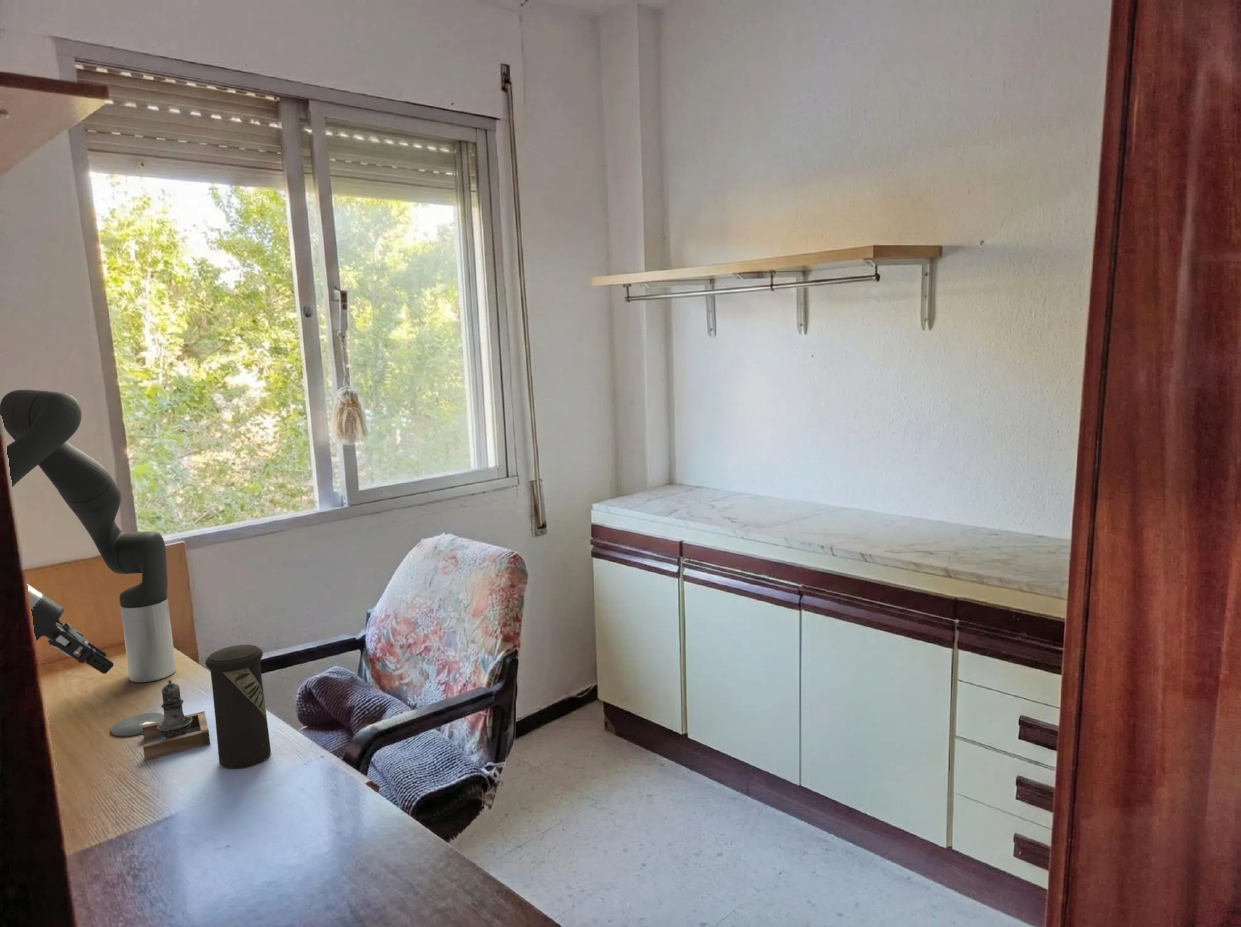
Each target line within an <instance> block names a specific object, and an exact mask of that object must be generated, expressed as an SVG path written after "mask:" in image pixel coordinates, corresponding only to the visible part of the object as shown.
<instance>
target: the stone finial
mask: <svg viewBox="0 0 1241 927" xmlns="http://www.w3.org/2000/svg"><path fill="white" fill-rule="evenodd" d="M172 682H173V681H172V680H171V679H169V680H168V682H167V685H165V686H163V687H162V689H161V695H162V696H161V697H162V704H161V705H160V706H161V708H162V709H163V715H164V721H162V722H161V723H159V724H158V725H157V727H156V728H157V730H159V733H160V734H161V737H162V738H164V739H168V738H173V737H177V736H181V735H185V734H188V732H190V730H191V729H190V727H191V722H192V720H193V719H192V718H191V717H189V716H185V714H184V711H183V704H184V700H183V699H181V696H182V695H181V689H180V685H178V684H177V683H172Z"/></svg>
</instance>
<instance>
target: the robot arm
mask: <svg viewBox="0 0 1241 927" xmlns="http://www.w3.org/2000/svg"><path fill="white" fill-rule="evenodd" d="M0 415H1V416H2V419H3V423H4V426H3V427H4V430H6V432H7V434H8V435H9V436H10V437H11V438H12V440H14V441H12V442H11V443H9V444H8V445H7V455H8V458H9V467H10V476H11V480H12V488H13V487H15V486H16V484H17V483H19V481H21V480H22V479H23V478H24V477H25V476H27V474H29V473H30V472H31V471H32V470H33V469H35V468H36V467H37V466H38V467H39V468H40V469H41V470H42V472H43V474H44V475H45V476H46V477H47V479H48V480H49V481H50V482H51V483H52V485H53V486H54V487H55V489H56V490H57V491H58V493H59V494H60V497H61V498H62V499H63V500H64V502H65V503H66V504H67V506H68V507H69V509H70V510H71V511H72V512H73V513H74V515H75V516H76V517H77V519H78V520H79V521H80V523H81V524H82V526H83V527H84V528H85V530H86V531H87V533H88V534H89V536H90V538H91V539H92V541H93V543H94V545H95V547H96V549H97V551H98V553H99V554H100V556H101V558H102V560H103V561H104V564H105V565H106V566H107V568H109V569H110V571H112V572H113V573H115V574H120V575H129V574H130V575H131V574H133V575H134V574H141V582H140V583H139V584H137V585H134V586H132V587H129V588H126V589H125V590H123V591H121V593H120V594H119V598H118V599H119V605H120V606H119V607H120V615H121V621H122V629H123V638H124V647H125V653H126V661H127V664H126V665H127V669H128V670H127V671H128V679H129V681H131V682H132V683H147V682H153V681H159V680H161V679H164V678H167V677H169V676H171V675H173V674H174V673H175V672H176V671H177V669H176V658H175V650H174V649H175V648H174V641H173V640H174V639H173V632H172V625H171V615H170V606H169V600H168V598H169V597H168V586H169V581H168V580H169V578H168V570H167V569H168V568H167V566H168V564H167V563H168V562H167V549H166V544H165V541H164V538H163V536H162V534H161V533H159V532H157V531H150V530H149V531H135V532H134V531H133V532H125V531H123V530H121V529H120V528H119V527H118V525H117V523H116V521H115V519H116V516H117V514H118V512H119V509H120V507H121V502H122V495H121V494H122V493H121V490H120V488H119V486H118V485H117V483H116V482H115V480H114V478H113V477H112V476H111V474H110V472H109V471H108V470H107V469H106V467H104V466H103V464H101V463H100V462H98V461H97V460H96V459H95V458H93V457H92V456H91V455H88V454H87V453H85V452H83V451H82V450H80V449H78V448H77V447H75V446H74V445H72V444H71V443H70V442H68V440H70V439H71V437H73V435H74V434H75V433H76V432H77V430H78V429H79V427H80V425H81V422H82V408H81V406H80V403H79V402H78V400H77V399H76V398H75V397H74V396H72V395H70V394H69V393H65V392H60V391H52V390H51V391H50V390H40V389H39V390H38V389H16V390H12V391H10V392H8V393H6V394H5V395H4V396H3V397H2V399H1V400H0ZM3 423H2V424H3ZM27 585H28V592H29V596H30V604H31V611H32V616H33V625H34V633H35V636H36V641H35V642H37V641H38V640H39V639H40V638H42V637H46V638H48V640H47V641H46V642H47V643H48V645H49V646H50V647H52V648H53V649H55V650H58V651H60V652H62V653H63V654H64V655H66V656H67V657H69V658H73V659H74V660H76V661H77V662H78V663H80V664H86V665H89V667H92V668H93V669H95V670H96V671H98V672H99V673H101V674H103V675H105V674H108V672H110V670H111V669H112V668H113V667H114V662H113V661H111V660H110V659H108V658H107V657H106V656H107V653H106V652H105V651H103V650H102V649H100V648H98V647H97V646H96V645H94V644H93V643H91V642H90V641H89V640H88V638H86V637H84V634H83V633H82V632H80V631H79V630H77V629H75V627H74V626H72V625H71V624H69V623H68V622H65V623H63V622H62V621H61V620H60V618H61V617H62V615H63V614H64V612H65V611H64V607H63V606H62V605H61V604H59V603H58V602H56V601H55V600H53V599H51V598H50V597H48V596H47V595H45V594H44V593H42V592H41V591H39V589H37V588H35V587H34V586H32V585H30V584H28V583H27Z"/></svg>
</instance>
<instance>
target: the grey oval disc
mask: <svg viewBox="0 0 1241 927" xmlns="http://www.w3.org/2000/svg"><path fill="white" fill-rule="evenodd" d="M160 721H164V713H162V712H161V713H160V712H147V713H146V712H145V713H139V714H136V715H131V716H128V717H126V718H123V719H121V720H119V721H117V722H116V723H114V724H113V725H112V726H111V729H110V730H111V731H110V732H111V734H112V733H113V734H114V735H113V734H112V735H113V736H115V735H117V736H116V737H119V736H127V737H134V736H133V735H135V736H138V735H137V734H139V735H142V734H141V733H143V725H147V724H151V723H155V722H160Z"/></svg>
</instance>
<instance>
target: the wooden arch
mask: <svg viewBox="0 0 1241 927" xmlns="http://www.w3.org/2000/svg"><path fill="white" fill-rule="evenodd" d="M184 716H189V717H191V718H192V719H193V720H192V722H191V727H190V730H193V729H197V728H199V730H198V731H194V732H189V733H187V734H185V735H181V736H177V737H173V738H168V739H166V738H164V739H161V740H157V741H153V742H148V743H145V744H142V749H143V757H144V761H148V760H153V759H157V758H161V757H166V756H169V755H173V754H176V753H180V752H184V751H188V750H192V749H196V748H201V747H204V746H208V745H210V744H211V739H210V731H209V730H210V729H209V726H208V721H207V718H206V711H205V710H203V711H199V712H194V713H192V714H187V715H185V714H184ZM161 722H162V721H160V722H155V723H151V724H147V725H143V734H142V735H143V740H144V741H147V740H152V739H157V738H160V737H162V736H161V734H160V733H159V730H157V728H156V727H157V725H158V724H159V723H161ZM156 737H157V738H156Z"/></svg>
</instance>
